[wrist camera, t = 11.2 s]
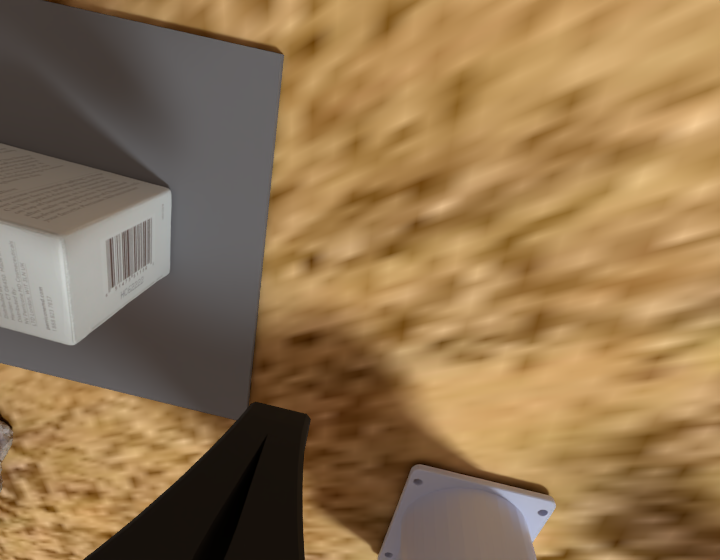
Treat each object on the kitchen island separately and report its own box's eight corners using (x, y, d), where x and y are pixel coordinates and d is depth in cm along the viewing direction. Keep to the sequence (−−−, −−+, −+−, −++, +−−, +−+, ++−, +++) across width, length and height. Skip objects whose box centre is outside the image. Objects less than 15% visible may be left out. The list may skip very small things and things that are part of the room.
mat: (247, 418, 22) (245, 422, 22) (-28, 351, 22) (-33, 354, 22) (283, 54, 14) (281, 54, 14) (-141, -41, 15) (-152, -44, 14)
